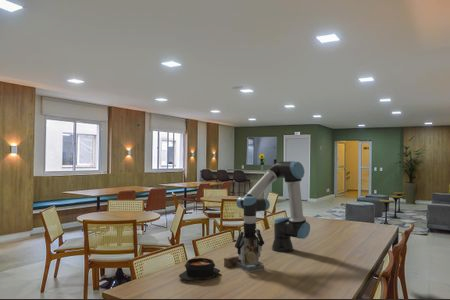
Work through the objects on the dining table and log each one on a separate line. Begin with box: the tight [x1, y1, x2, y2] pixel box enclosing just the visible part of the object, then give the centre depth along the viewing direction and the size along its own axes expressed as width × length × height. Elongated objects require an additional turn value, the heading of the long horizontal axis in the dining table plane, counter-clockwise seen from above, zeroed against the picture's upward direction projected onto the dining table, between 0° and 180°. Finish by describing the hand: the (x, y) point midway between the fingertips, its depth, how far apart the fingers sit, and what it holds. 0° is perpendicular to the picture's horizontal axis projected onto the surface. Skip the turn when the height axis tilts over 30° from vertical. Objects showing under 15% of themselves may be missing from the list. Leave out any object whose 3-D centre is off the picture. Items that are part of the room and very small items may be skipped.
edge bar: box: [223, 255, 241, 268], centre depth 217 cm, size 24×2×5 cm, turn 121°
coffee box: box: [241, 236, 260, 266], centre depth 209 cm, size 9×6×16 cm
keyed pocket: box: [235, 262, 265, 273], centre depth 209 cm, size 11×14×2 cm
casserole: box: [178, 257, 221, 281], centre depth 193 cm, size 25×19×8 cm
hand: (249, 258), depth 209 cm, fingers open, 13 cm apart
